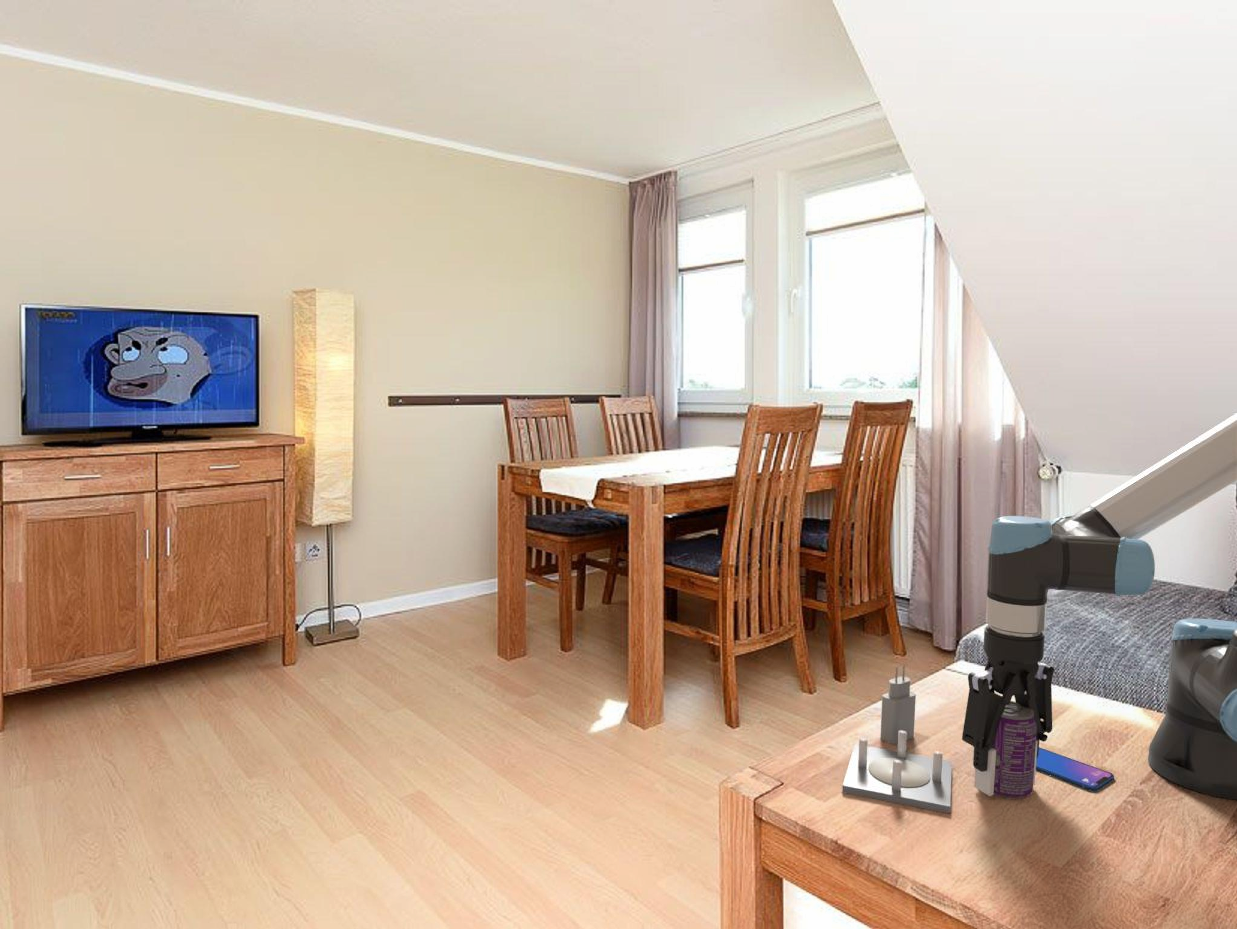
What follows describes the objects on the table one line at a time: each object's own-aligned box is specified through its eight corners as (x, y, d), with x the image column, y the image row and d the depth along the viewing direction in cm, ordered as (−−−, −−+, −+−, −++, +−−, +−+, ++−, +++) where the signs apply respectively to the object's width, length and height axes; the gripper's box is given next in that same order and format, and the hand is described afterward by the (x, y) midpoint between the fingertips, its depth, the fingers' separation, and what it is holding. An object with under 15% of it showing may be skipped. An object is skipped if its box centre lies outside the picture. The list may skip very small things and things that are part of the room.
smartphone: (1015, 738, 130) (1117, 774, 118) (1015, 743, 130) (1116, 780, 118) (991, 750, 126) (1094, 789, 114) (991, 756, 126) (1094, 795, 114)
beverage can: (989, 772, 119) (994, 694, 118) (1040, 790, 114) (1045, 709, 113) (968, 788, 115) (972, 707, 113) (1020, 808, 110) (1025, 723, 108)
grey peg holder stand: (951, 767, 121) (953, 735, 120) (949, 813, 108) (951, 778, 108) (854, 749, 126) (856, 719, 126) (842, 792, 114) (843, 758, 113)
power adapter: (878, 737, 131) (881, 666, 129) (899, 729, 134) (902, 659, 132) (894, 745, 128) (898, 672, 127) (915, 736, 131) (919, 665, 130)
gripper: (1043, 613, 119) (1033, 761, 122) (938, 628, 112) (929, 786, 114) (1090, 628, 112) (1078, 785, 115) (980, 645, 105) (971, 812, 107)
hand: (1004, 785), depth 114 cm, fingers closed on beverage can, 7 cm apart
